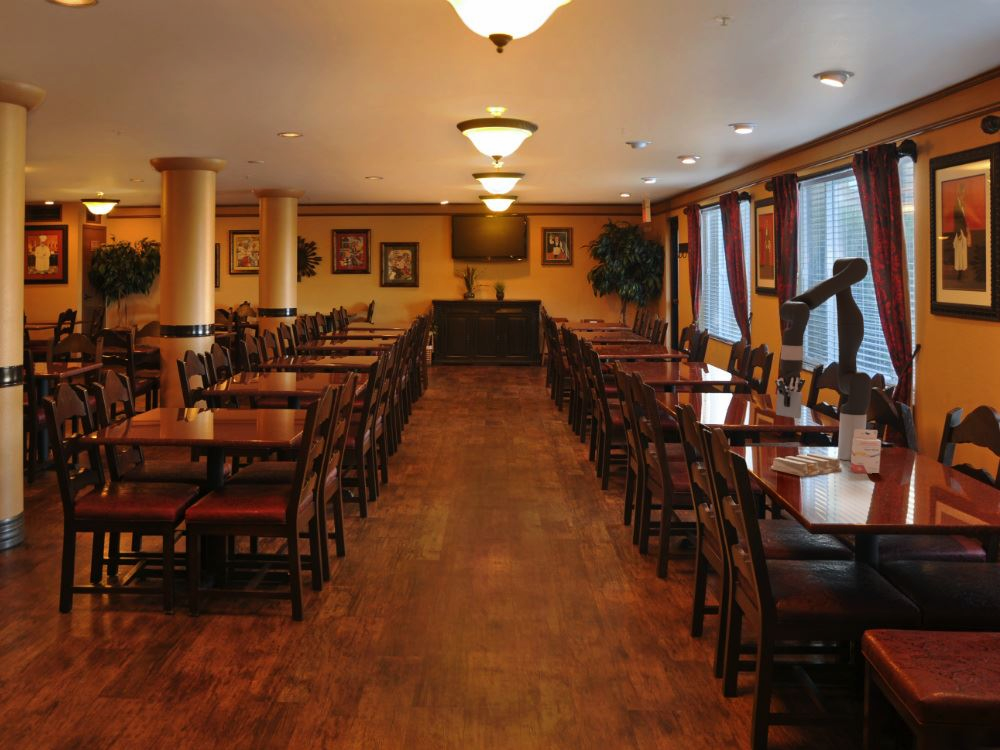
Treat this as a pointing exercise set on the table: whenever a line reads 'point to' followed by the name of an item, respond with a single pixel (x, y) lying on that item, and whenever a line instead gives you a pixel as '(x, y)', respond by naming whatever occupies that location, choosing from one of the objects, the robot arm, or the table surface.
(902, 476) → the table surface
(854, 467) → the ink cartridge box
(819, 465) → the rack
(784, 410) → the panel
